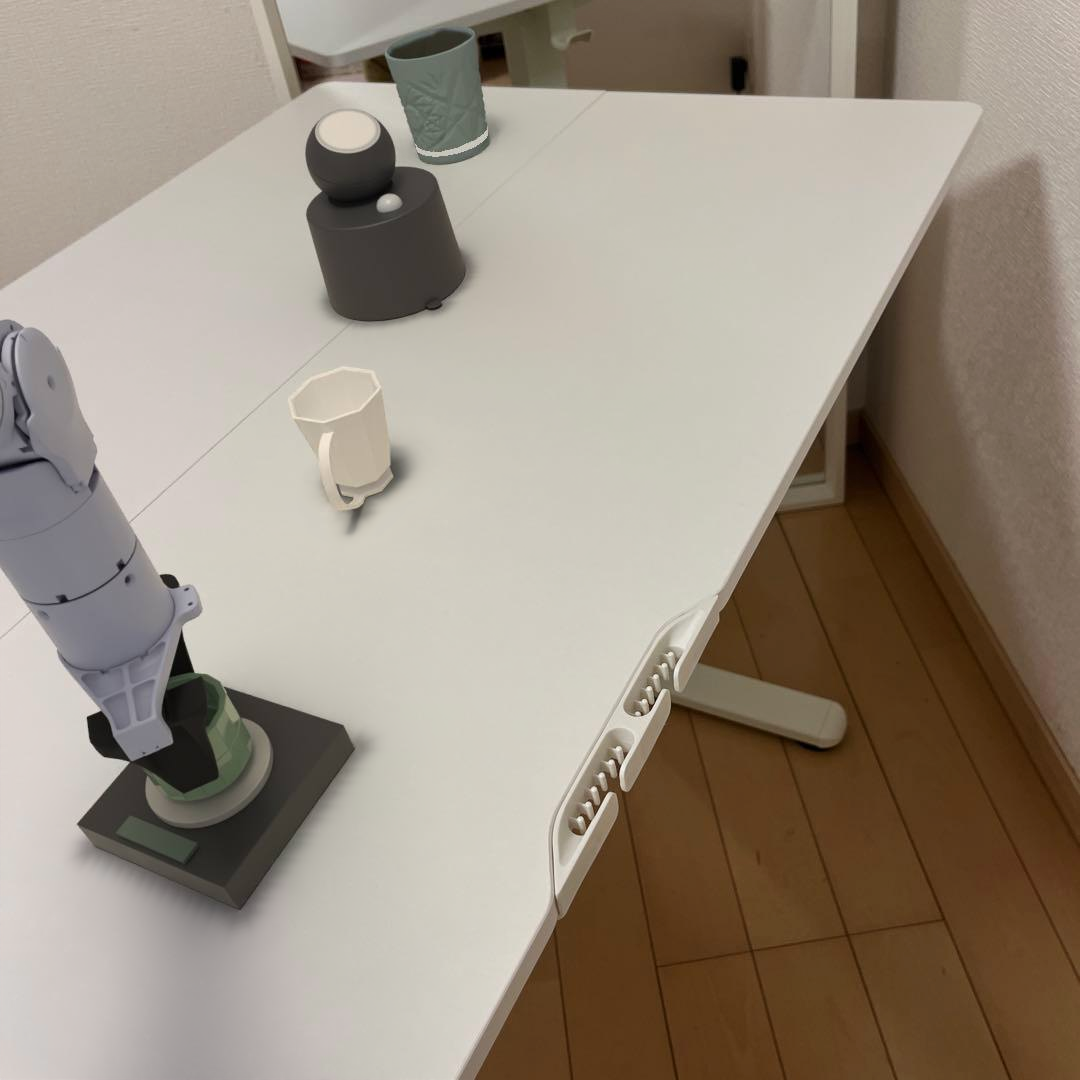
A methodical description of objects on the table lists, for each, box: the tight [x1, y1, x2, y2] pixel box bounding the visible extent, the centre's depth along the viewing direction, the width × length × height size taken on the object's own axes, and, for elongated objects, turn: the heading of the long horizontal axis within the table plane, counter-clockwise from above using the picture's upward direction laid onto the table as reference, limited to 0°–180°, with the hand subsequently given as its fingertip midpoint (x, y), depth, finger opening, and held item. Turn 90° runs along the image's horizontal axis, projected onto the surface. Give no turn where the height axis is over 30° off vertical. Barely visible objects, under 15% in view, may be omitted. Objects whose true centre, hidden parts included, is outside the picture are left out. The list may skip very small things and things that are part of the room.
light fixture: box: [304, 108, 466, 322], centre depth 101 cm, size 13×16×14 cm
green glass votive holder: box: [142, 672, 252, 801], centre depth 60 cm, size 6×6×4 cm
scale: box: [76, 685, 355, 910], centre depth 63 cm, size 11×11×3 cm
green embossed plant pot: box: [384, 25, 490, 165], centre depth 125 cm, size 10×10×12 cm
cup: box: [287, 365, 394, 511], centre depth 80 cm, size 7×10×8 cm
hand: (190, 740), depth 60 cm, fingers closed on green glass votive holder, 6 cm apart
